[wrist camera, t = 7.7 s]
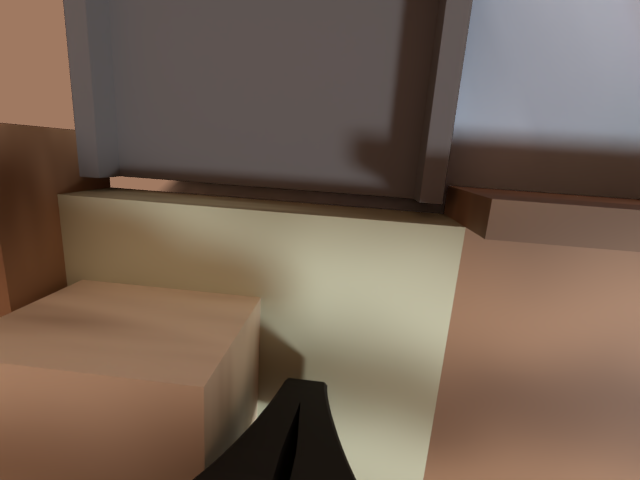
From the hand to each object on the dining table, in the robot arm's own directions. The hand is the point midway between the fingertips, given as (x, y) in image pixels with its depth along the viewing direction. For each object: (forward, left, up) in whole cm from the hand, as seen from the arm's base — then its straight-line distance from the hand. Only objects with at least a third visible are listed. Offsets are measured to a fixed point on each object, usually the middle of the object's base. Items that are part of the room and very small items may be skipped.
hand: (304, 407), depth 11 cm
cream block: (0, +5, -1) cm, 5 cm away
